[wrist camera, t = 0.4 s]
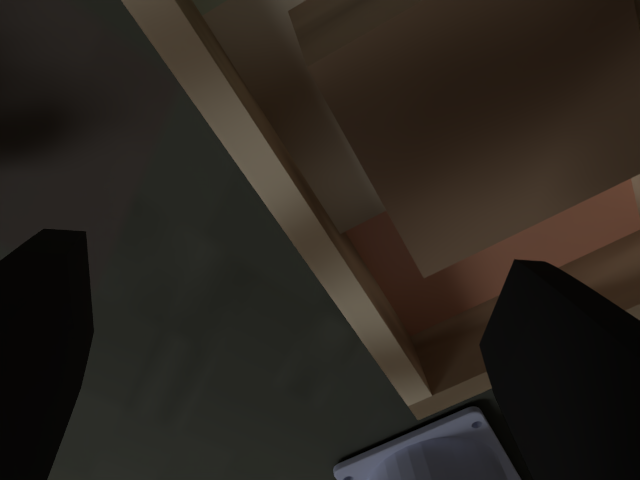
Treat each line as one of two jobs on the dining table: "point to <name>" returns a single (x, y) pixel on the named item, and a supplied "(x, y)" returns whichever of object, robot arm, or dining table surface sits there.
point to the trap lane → (369, 202)
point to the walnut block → (478, 109)
